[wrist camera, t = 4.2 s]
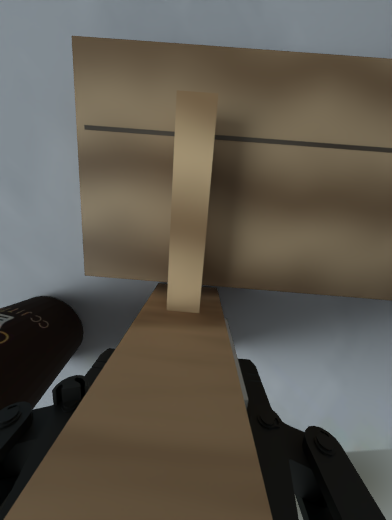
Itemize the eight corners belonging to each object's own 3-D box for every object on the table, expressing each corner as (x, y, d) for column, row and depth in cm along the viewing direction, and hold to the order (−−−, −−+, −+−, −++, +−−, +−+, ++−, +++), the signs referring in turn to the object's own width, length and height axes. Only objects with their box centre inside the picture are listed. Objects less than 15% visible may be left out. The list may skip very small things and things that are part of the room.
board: (96, 70, 13) (71, 35, 10) (565, 105, 13) (655, 77, 10) (102, 266, 16) (84, 275, 13) (481, 297, 16) (533, 312, 13)
